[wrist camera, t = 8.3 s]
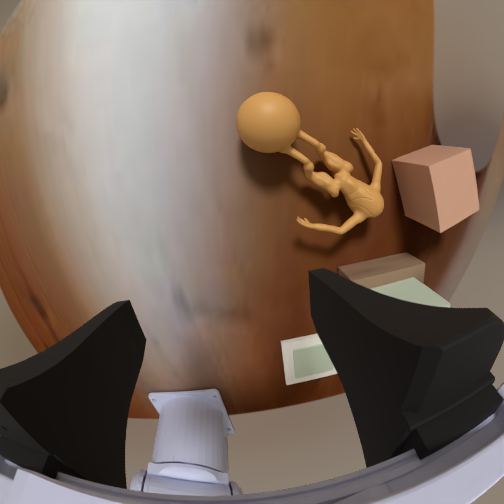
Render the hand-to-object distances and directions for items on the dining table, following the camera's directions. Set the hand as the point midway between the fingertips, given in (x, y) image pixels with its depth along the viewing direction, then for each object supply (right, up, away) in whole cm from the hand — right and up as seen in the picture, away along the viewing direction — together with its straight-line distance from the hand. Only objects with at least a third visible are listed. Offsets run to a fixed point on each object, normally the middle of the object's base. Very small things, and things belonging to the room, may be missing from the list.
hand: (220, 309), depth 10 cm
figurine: (+1, +11, +3) cm, 11 cm away
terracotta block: (+16, +8, +9) cm, 20 cm away
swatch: (+7, -8, +15) cm, 18 cm away
